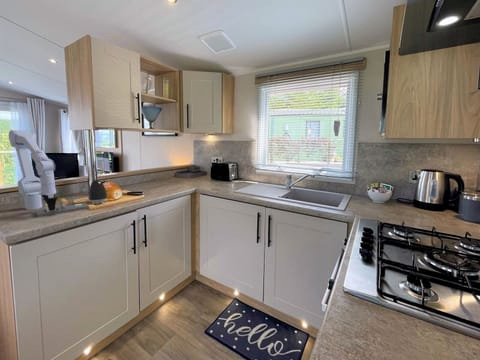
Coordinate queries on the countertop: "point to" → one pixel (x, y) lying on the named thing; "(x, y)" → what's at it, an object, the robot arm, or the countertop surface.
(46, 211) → the plug
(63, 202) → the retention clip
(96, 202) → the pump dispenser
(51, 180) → the robot arm
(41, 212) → the grey recessed block
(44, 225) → the countertop surface
